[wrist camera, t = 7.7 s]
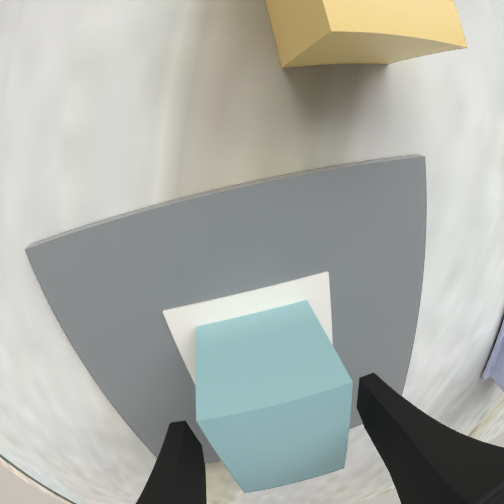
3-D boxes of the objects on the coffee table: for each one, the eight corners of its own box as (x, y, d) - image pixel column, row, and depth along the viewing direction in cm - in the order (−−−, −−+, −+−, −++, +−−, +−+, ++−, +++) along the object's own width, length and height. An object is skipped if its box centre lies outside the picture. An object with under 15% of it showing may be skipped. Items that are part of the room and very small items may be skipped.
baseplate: (394, 403, 17) (398, 410, 16) (165, 459, 16) (165, 467, 15) (416, 154, 11) (426, 156, 10) (31, 243, 10) (23, 250, 9)
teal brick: (315, 398, 14) (344, 468, 10) (233, 418, 14) (244, 493, 10) (306, 299, 12) (352, 381, 7) (195, 326, 11) (196, 420, 7)
